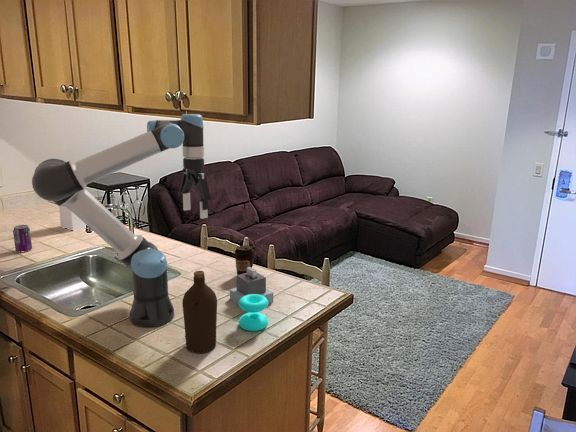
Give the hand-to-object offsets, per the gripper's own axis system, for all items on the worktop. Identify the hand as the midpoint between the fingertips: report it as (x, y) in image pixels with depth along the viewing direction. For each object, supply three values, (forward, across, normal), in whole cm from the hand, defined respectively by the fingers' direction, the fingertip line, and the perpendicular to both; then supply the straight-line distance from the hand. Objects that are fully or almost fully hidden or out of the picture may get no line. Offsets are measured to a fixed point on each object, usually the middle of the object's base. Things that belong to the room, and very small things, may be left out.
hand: (195, 214), depth 181 cm
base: (+33, -17, -14) cm, 39 cm away
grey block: (+29, -17, -14) cm, 36 cm away
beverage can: (+33, +92, +45) cm, 108 cm away
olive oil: (+33, -35, +17) cm, 51 cm away
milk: (+33, +118, +14) cm, 123 cm away
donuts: (+33, -34, -4) cm, 47 cm away
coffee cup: (+33, +5, -25) cm, 42 cm away
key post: (+29, -17, -14) cm, 36 cm away
